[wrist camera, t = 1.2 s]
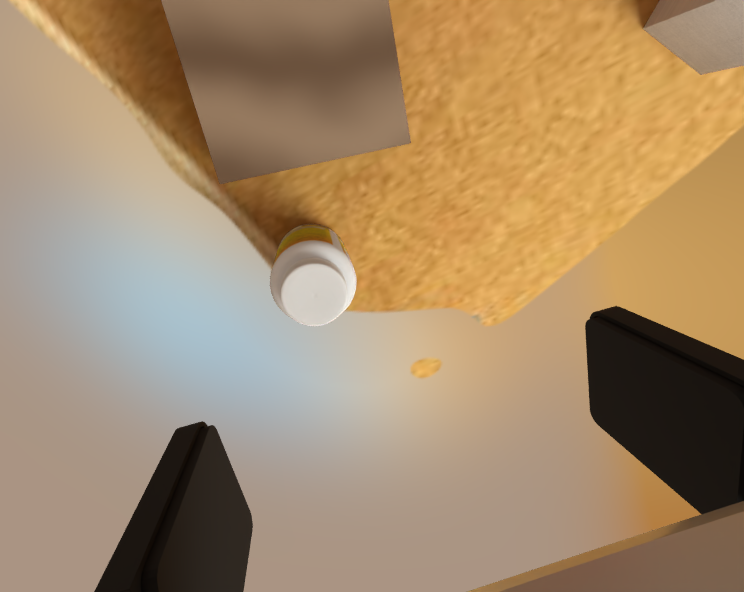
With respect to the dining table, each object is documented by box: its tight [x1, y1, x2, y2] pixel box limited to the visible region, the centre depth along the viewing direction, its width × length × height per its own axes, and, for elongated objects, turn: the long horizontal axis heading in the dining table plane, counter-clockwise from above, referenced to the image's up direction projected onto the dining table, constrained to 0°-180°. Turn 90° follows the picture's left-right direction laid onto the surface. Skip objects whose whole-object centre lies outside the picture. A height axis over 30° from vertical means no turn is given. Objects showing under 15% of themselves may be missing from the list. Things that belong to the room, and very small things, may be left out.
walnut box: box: [161, 0, 411, 184], centre depth 26 cm, size 12×12×7 cm
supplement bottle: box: [270, 224, 356, 326], centre depth 29 cm, size 6×6×10 cm
